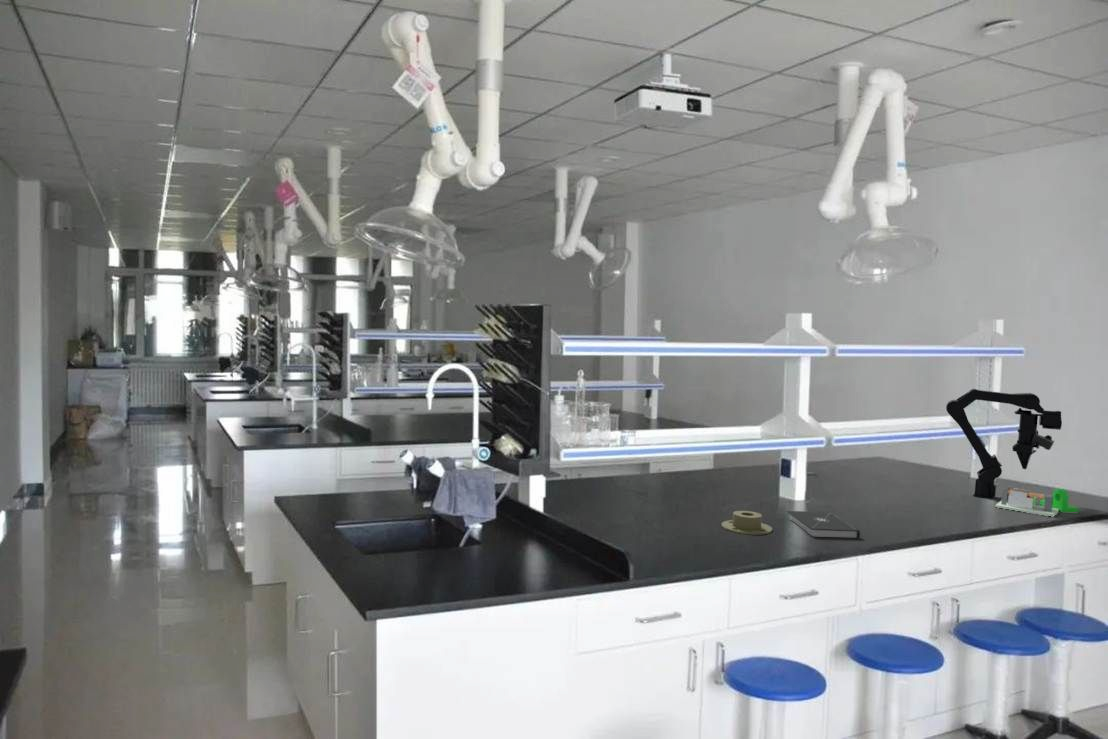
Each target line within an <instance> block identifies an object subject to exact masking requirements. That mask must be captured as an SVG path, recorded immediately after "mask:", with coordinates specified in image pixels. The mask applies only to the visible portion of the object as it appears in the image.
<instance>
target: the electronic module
mask: <svg viewBox="0 0 1108 739" xmlns="http://www.w3.org/2000/svg"><path fill="white" fill-rule="evenodd" d="M1008 490H1011V494H1010V493H1008ZM1014 490H1015V491H1014ZM1020 491H1022V492H1020ZM1027 492H1029V493H1031V490H1030V489H1023V488H1017V487H1013V489H1011V487H1007V486H1004V488H1002V492H1001V499H1000V501H1001V504H1004V505H1007V503H1008V506H1012V507H1019V508H1025V509H1031V510H1032V509H1033V508H1034V507H1035V505H1036V504H1037V503H1036V500H1037V497H1031V496H1027ZM1044 500H1045V504H1044V511H1049V512H1051V511H1052V507H1053V495H1049V494H1045V498H1044Z"/></svg>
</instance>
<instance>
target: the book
mask: <svg viewBox="0 0 1108 739" xmlns="http://www.w3.org/2000/svg"><path fill="white" fill-rule="evenodd" d="M786 512H787V513H788V514H789V515H790V521H792V522H793V523H794V524H796V525H797V526H798V527H799V528H801V529H803V530H804V531H805V532H806V533H808V534H809V535H810V536H812V537H818V538H820V537H821V538H823V537H824V538H853V539H856V538H857V539H858V540H859V539H860V537H861V531H860V529H858V528H857V527H855V526H853V525H852V524H850V523H849V522H848V521H845V520H844V519H843V518H841V517H840V516H838V515H836V514H834V513H833V512H830V511H829V512H828V511H806V510H804V511H803V510H802V511H800V510H799V511H798V510H786Z"/></svg>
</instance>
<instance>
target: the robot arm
mask: <svg viewBox="0 0 1108 739" xmlns="http://www.w3.org/2000/svg"><path fill="white" fill-rule="evenodd" d="M975 401H983V402H993V403H1002V404H1007V405H1008V404H1009V405H1013V406H1016V407H1018V408H1017V410H1015V411H1014V412H1013V413H1014V414H1015V415H1019V426H1018V429H1017V433H1018V437H1017V440H1016V443H1014V444H1013V445H1012V452H1015V453H1016V455H1017V458H1018V460H1019V463H1020V466H1021V467H1022V470H1027V469H1028V465H1029V462H1030V460H1031V457H1032V455H1033V454H1035V453H1036V452H1037V449H1040V447H1042V448H1043V449H1045V450H1047V451H1049V450H1051V449H1052V447H1053V446H1054V443H1055V440H1053V437H1052V436H1051V435H1050V434H1049V435H1048V434H1046V435H1045V436H1043V435H1040V434H1039V431H1038V425H1039V426H1041V428H1042V429H1045V430H1046V429H1047V430H1056V431H1057V430H1059V431H1061V430H1062V424H1063V423H1062V422H1063V421H1062V411H1060V410H1045V409H1044V407H1042V405H1041V400H1040V398H1039V397H1038V395H1037V394H1035V393H1031V392H1017V393H1008V392H1000V391H999V392H998V391H991V390H981V389H977V388H972V389H969V391H967V392H966V393H964V394H962V395H961V396H960V397H958V398H956V399H950V400H949V401H948V402H947V403H946V405H945V409H946V412H947V414H948V415H949V416H950V417H951V418H952V420H954V421H955V423H957V424H958V426H959V427H960V429H961V430H962V433H963V434H964V435H965V437H966V438H967V440H968V442H969V443H970V445H971V447H972V448H973V450H974V451H975V454H976V455H977V456H978V458H979V461H980V464H981V466H982V468H981V469H979V470H978V471H976V475H977V478H976V479H975V481H974V482H975V483H974V484H975V485H974V494H973V496H974V497H978V498H984V499H990V498H991V500H993V499H994V498H996V496H997V489H998V485H997V484H996V483H997V482H996V479H997V478H999V477H1000V476H1002V472H1003V471H1002V468H1001V467H1002V466H1003V464H1002V463H1001V462H1000V461H999V460H998V457H997V456H996V454H993V455H991V454H990V453H989V452H988V450H987V449H986V447H985V445H984V443H983V442H982V440H981V439H980V437H979V435H978V434H977V432H976V430H975V429H974V428H973V426H972V424H971V423H970V421H969V419H968V417H967V414H966V411H965V409H966V408H967V407H969V406H970V405H971V404H972V403H973V402H975ZM1024 409H1025V410H1024ZM1033 411H1035V412H1036V413H1033ZM1035 448H1036V449H1035ZM992 498H993V499H992Z"/></svg>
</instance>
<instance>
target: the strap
mask: <svg viewBox="0 0 1108 739" xmlns="http://www.w3.org/2000/svg"><path fill="white" fill-rule="evenodd" d="M1011 490H1012V489H1010V490H1008V493H1010V494H1011ZM1013 490H1014V489H1013ZM1014 491H1015V490H1014ZM1020 492H1022V491H1020ZM1027 496H1031V497H1036V498H1040V499H1045V496H1046V494H1045V493H1044V494H1043V493H1036V492H1030V493H1029V492H1027Z"/></svg>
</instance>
